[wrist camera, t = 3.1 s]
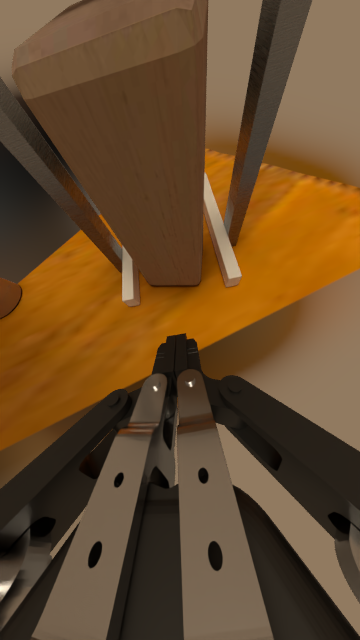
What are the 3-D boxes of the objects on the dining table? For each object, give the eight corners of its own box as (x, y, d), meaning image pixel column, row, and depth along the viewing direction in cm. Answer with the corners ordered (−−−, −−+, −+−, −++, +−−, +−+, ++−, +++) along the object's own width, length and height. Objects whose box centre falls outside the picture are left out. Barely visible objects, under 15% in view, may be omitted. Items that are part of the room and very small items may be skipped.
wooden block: (202, 244, 26) (210, -59, 7) (200, 287, 23) (202, -24, 4) (156, 246, 28) (62, 7, 9) (148, 287, 25) (-11, 63, 6)
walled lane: (129, 306, 24) (122, 301, 22) (128, 208, 33) (122, 197, 31) (237, 284, 22) (241, 276, 20) (205, 186, 31) (205, 172, 29)
